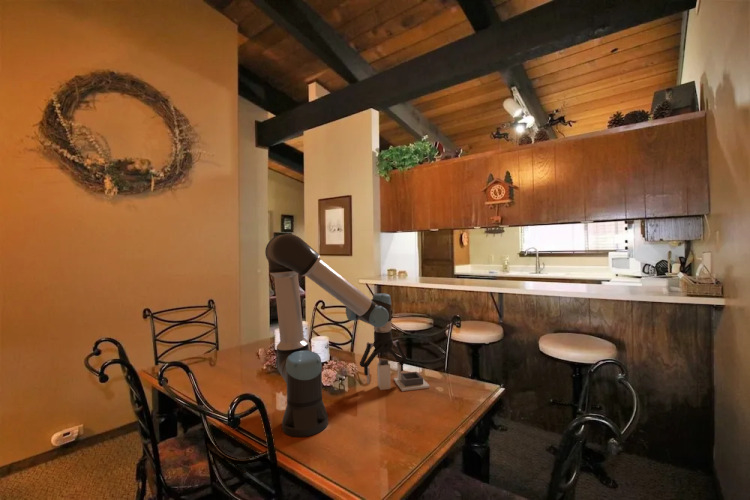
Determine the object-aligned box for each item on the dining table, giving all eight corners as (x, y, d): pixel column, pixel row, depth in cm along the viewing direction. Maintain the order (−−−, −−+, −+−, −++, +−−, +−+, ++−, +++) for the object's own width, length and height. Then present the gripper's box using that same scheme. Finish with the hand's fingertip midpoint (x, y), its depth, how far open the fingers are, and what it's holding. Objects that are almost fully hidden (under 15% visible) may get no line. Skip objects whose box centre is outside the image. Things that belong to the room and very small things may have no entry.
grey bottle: (380, 390, 139) (379, 362, 139) (377, 385, 144) (377, 358, 144) (390, 388, 140) (390, 361, 140) (387, 384, 145) (387, 357, 145)
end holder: (402, 391, 138) (401, 382, 138) (393, 380, 149) (393, 372, 149) (429, 387, 140) (429, 379, 140) (419, 377, 152) (419, 369, 152)
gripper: (355, 335, 136) (356, 387, 136) (413, 330, 141) (415, 380, 141) (352, 330, 143) (353, 380, 143) (408, 326, 148) (409, 374, 149)
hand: (384, 380), depth 142 cm, fingers open, 13 cm apart
